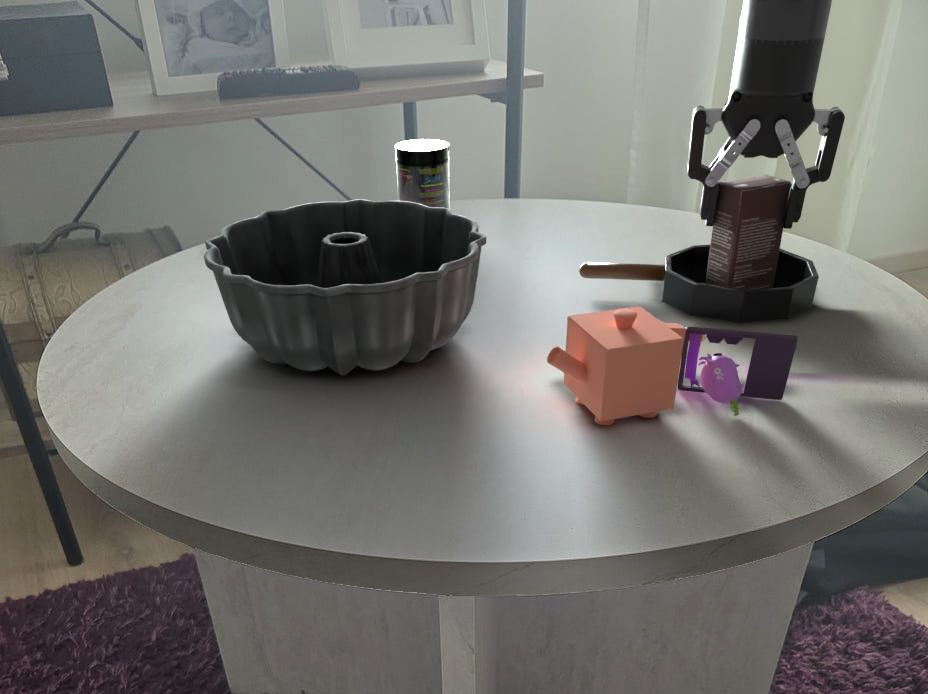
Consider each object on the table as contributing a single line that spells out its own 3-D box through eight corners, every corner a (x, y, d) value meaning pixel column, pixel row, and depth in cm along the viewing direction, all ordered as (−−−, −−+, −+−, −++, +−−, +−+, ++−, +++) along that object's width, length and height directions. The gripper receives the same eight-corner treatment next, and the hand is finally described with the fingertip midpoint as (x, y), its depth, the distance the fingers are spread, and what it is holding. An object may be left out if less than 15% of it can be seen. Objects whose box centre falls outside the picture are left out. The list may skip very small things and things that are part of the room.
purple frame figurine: (799, 329, 74) (686, 320, 76) (794, 373, 72) (678, 363, 74) (783, 391, 80) (678, 381, 82) (778, 434, 77) (670, 422, 80)
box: (744, 292, 100) (765, 172, 92) (770, 305, 97) (795, 182, 89) (698, 301, 98) (716, 179, 91) (724, 315, 95) (745, 190, 87)
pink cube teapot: (528, 399, 81) (532, 306, 75) (651, 380, 83) (663, 288, 78) (563, 438, 75) (569, 340, 70) (694, 416, 77) (709, 320, 72)
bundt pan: (412, 418, 78) (406, 301, 72) (166, 370, 87) (141, 263, 81) (523, 314, 97) (526, 213, 90) (310, 283, 105) (299, 190, 99)
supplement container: (461, 232, 120) (460, 144, 113) (424, 244, 116) (421, 153, 109) (425, 223, 123) (422, 136, 117) (388, 234, 120) (383, 145, 113)
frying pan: (798, 282, 102) (806, 244, 100) (816, 335, 90) (826, 294, 88) (581, 274, 106) (584, 238, 103) (572, 324, 94) (574, 285, 91)
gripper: (701, 36, 80) (676, 234, 91) (873, 36, 78) (826, 238, 89) (698, 26, 86) (675, 213, 96) (858, 25, 84) (816, 217, 94)
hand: (747, 225), depth 92 cm, fingers closed on box, 7 cm apart
